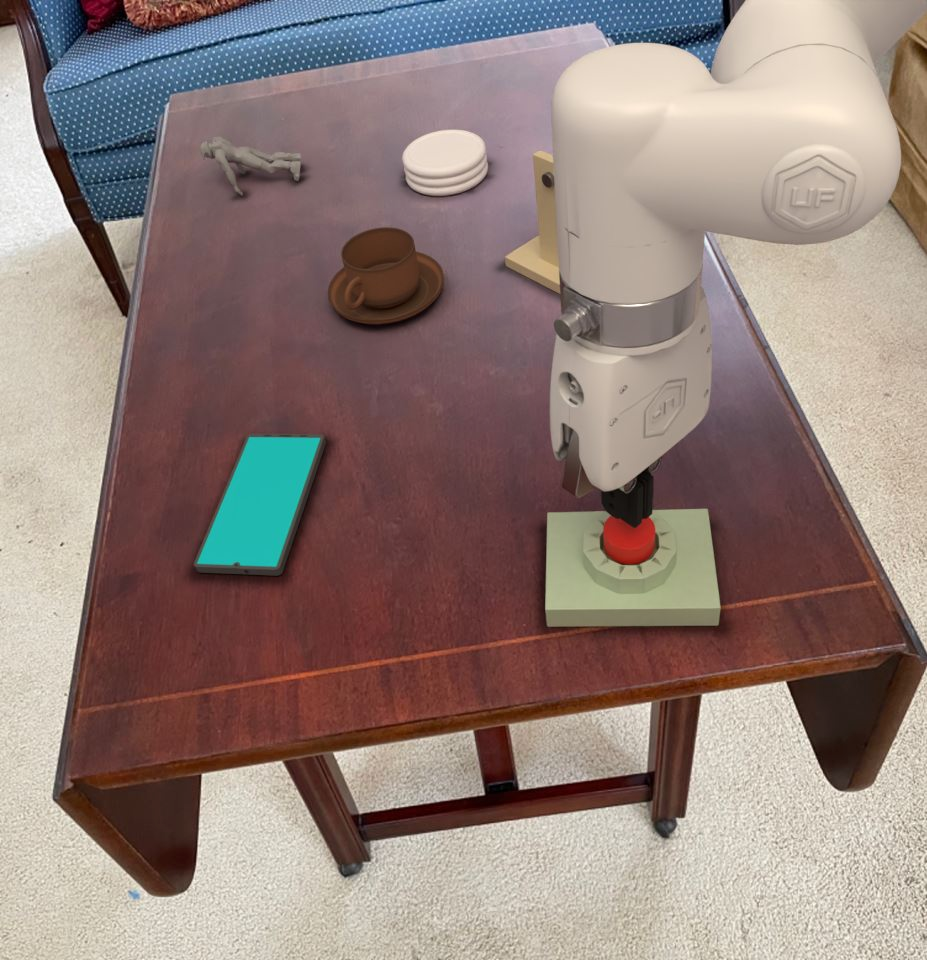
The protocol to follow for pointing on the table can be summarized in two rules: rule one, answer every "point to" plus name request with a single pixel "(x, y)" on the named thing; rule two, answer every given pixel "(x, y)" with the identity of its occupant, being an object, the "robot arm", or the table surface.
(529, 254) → the bracket
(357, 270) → the cup and saucer
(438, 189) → the coaster
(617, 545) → the button
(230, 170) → the soldier figurine
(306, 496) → the smartphone
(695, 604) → the button block
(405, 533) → the table surface
